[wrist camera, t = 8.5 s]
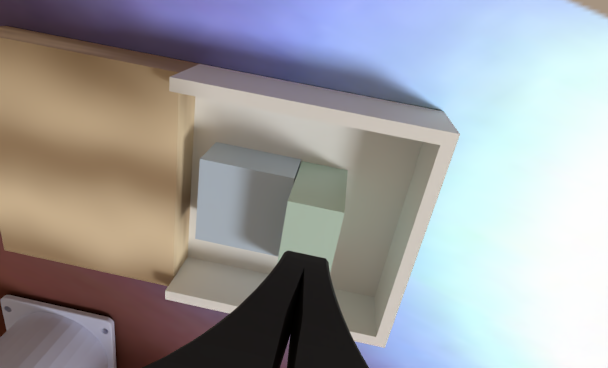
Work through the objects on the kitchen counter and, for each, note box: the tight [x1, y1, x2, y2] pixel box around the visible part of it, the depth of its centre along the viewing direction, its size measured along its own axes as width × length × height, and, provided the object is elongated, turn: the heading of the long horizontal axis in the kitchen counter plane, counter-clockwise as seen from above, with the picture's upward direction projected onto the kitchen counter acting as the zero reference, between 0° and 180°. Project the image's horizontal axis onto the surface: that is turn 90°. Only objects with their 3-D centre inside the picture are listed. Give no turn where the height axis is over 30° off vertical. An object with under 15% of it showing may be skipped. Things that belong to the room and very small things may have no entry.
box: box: [165, 64, 460, 348], centre depth 21 cm, size 12×12×4 cm
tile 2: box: [195, 142, 301, 256], centre depth 21 cm, size 4×4×2 cm
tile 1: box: [277, 161, 348, 271], centre depth 20 cm, size 4×4×2 cm
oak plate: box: [0, 26, 198, 286], centre depth 22 cm, size 12×10×2 cm
